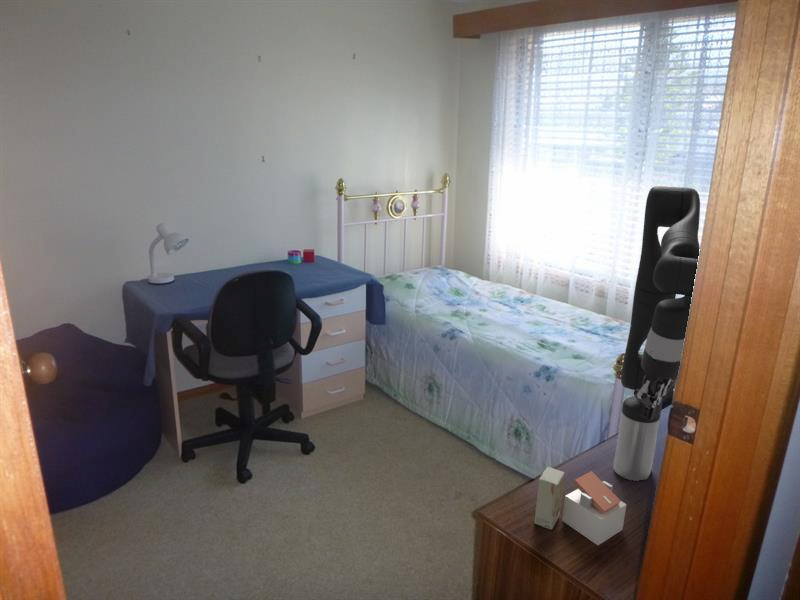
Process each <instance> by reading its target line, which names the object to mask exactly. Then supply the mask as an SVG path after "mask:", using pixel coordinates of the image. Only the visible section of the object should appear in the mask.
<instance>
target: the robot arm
mask: <svg viewBox="0 0 800 600" xmlns="http://www.w3.org/2000/svg"><path fill="white" fill-rule="evenodd" d="M700 199H701V198H700V194H699V192H698V191H697V190H696V189H695V188H691V187H686V186H685V187H681V186H667V185H666V186H665V185H664V186H663V185H661V186H660V185H659V186H658V185H656V186H652V187H651V188H650V189H649V192H648V194H647V196H646V200H645V201H646V202H645V211H644V221H643V231H642V244H641V250H640V259H639V265H638V269H637V275H636V280H635V286H634V293H633V298H632V299H633V300H632V301H633V302H632V310H631V316H630V317H631V318H630V319H631V320H630V327H629V333H628V338H627V343H626V347H625V352H624V356H623V362H622V365H621V366H622V367H621V370H620V371H621V372H620V383H621V385H622V387H623V388H626V389H629V390H633V396H630V397H627V398H626V399H625V400H624V401H623V402H622V407H621V414H620V420H619V428H618V434H617V441H616V447H615V453H614V459H613V465H612V466H613V467H612V468H613V471H614V472H615V473H616V474H617V475H618V476H620V477H621V478H623V479H625V480H626V479H627V480H629V481H632V480H633V481H634V482H640V481H639V480H644V479H645V478H647V477H648V476H649V475H650V476H651V472H652V471H651V469H652V470H653V464H654V459H655V453H656V447H657V442H658V441H657V437H658V431H659V425H660V421H661V414H662V407H663V406H662V405H663V401H664V399H666V398H667V395H668V394H669V392H670V390H671V388H672V387H673V385H674V384H675V382H676V381H677V379H678V377H677V376H679V375H678V370H679V366H680V360H681V354H682V349H683V343H684V338H685V332H686V327H687V321H688V316H689V309H690V304H691V297H692V292H693V286H694V279H695V274H696V269H697V262H698V256H699V249H700V250H701V247H700V241H699V228H700V219H701V217H700V216H701V213H700V212H701V200H700ZM659 228H668V229H667V230H666V231H664V234H663V235H662V238H661V241H660V240H659V234H658V231H659ZM677 295H679V296H682V297H677V298H676V296H677ZM644 343H645V345H644V350H643V353H642V354H640V353H639V352H640V349H641V348H642V346H643V344H644ZM644 481H645V480H644Z"/></svg>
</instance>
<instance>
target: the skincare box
mask: <svg viewBox="0 0 800 600" xmlns="http://www.w3.org/2000/svg"><path fill="white" fill-rule="evenodd" d="M564 480H565V471H562V470H559V469H556V468H554V467H550V466H546V468H545V469H544V471H543V472H542V474H541V475H540V477H539V479H538V486H537V494H536V495H537V497H536V504H535V505H536V506H535V513H534V524H535V525H538V526H541V527H542V528H544V529H545V528H546V529H548V530H553V528H554V527H555V526H556V524H557V522H558V520H559V517H560V512H561V506H562V505H561V504H562V497H563V489H564Z"/></svg>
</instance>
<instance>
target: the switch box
mask: <svg viewBox="0 0 800 600" xmlns="http://www.w3.org/2000/svg"><path fill="white" fill-rule="evenodd" d="M602 482H603V483H604V484H605V485H606V486H607V487H608V488H609V489H610V490H611V491H612V492H613V487H614V486H613V485H612V484H611V483H608V482H607V481H605V480H603V481H602ZM563 502H564V504H563V512H562V520H561V521H562V522H563V523H565V524H566V525H568V526H569V527H571V528H572V529H573V530H575V531H577V533H579V534H580V535H582V536H584V537H585V538H587V540H589V541H591V542H592V543H594V544H595V545H596V546H600V545H601V544H603V543H605V542H606V541H608V540H609V539H611V538H612V537H613V536H615V535H616V534H618V533H620V532H621V531H623V528H624V523H625V516H626V515H625V514H626V509H627V504H626V503H625V502H624V501H621V502H620V503H619V504H618V505H617V506H615V507H613V508H612V509H610V510H608V511H607V512H605V513H603V514H602V513H601V512H600V511H599V510H598V509H597V508H596V507H595V506H594V505H593V504H592V503H591V502H592V498H591V497H590V496H588V495H587V494H585V493H584V492H583V493H582V492H581V491H580V490H579V489H578V488H577V489H575V490H573V491H572V492H569V493H568V494H566V495H564V501H563Z"/></svg>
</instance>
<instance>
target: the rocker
mask: <svg viewBox="0 0 800 600" xmlns="http://www.w3.org/2000/svg"><path fill="white" fill-rule="evenodd" d="M572 483H573V484H574V486H575V487H576V488H577V489H579V490H580V491H581V492H582V493H583V492H584V493H585V494H587V495H588V496H590V497H591V498H592V502H591V503H592V504H593V505H594V506H595V507H596V508H597V509H598V510H599V511H600V512H601V513H602V514H603V513H605V512H607V511H608V510H610V509H612V508H613V507H615V506H617V505H618V504H619V503H620V502H621V499H620V498H619V497H618V496H617V495H616V494H615V493H614V492H613V490H612V491H611V490H610V489H609V488H608V487H607V486H606V485H605V484H604V483H603V481H602V480H601V479H600V477H598V476H597V475H596V474H595V473H594V471H592V470H591V471H588V472H587V473H584V475H581V476H579V477H578V478H576V479H574V481H573V482H572Z"/></svg>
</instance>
